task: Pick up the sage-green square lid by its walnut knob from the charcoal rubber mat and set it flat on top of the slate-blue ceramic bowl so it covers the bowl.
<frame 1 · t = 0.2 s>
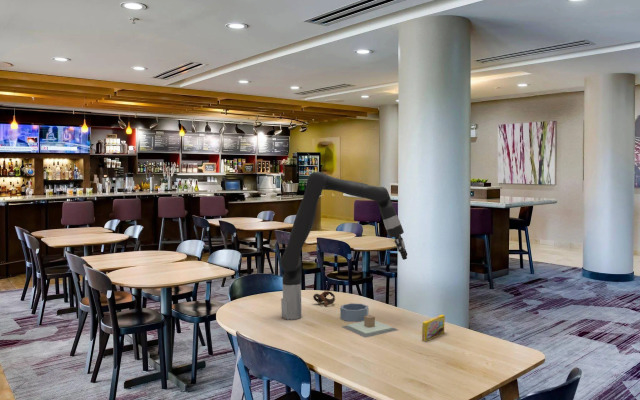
hand: (405, 257, 254), 31 cm above the table, tool tilted 20°, fingers open, 8 cm apart
mat: (369, 329, 243), on the table
brown looped knot: (324, 305, 289), on the table
lid: (369, 328, 243), point 1 cm above the table, touching mat
candy box: (433, 337, 231), on the table
bowl: (354, 318, 260), on the table
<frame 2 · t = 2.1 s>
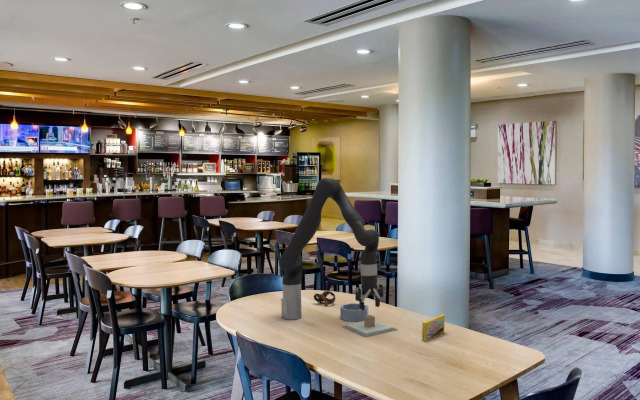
hand: (369, 308, 242), 10 cm above the table, tool pointing down, fingers open, 8 cm apart
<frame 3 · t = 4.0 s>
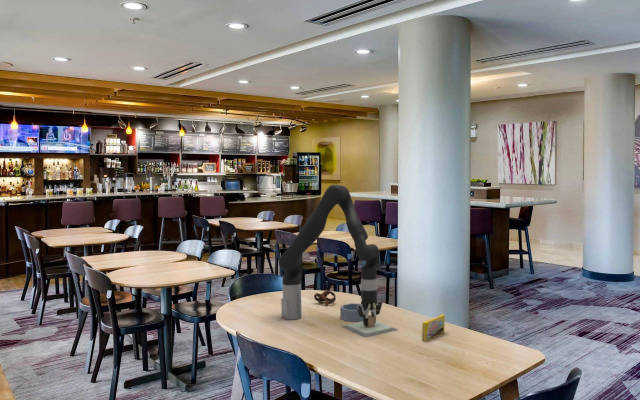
hand: (369, 324, 243), 2 cm above the table, tool pointing down, fingers closed on lid, 3 cm apart
lid: (369, 328, 243), point 1 cm above the table, touching gripper, mat
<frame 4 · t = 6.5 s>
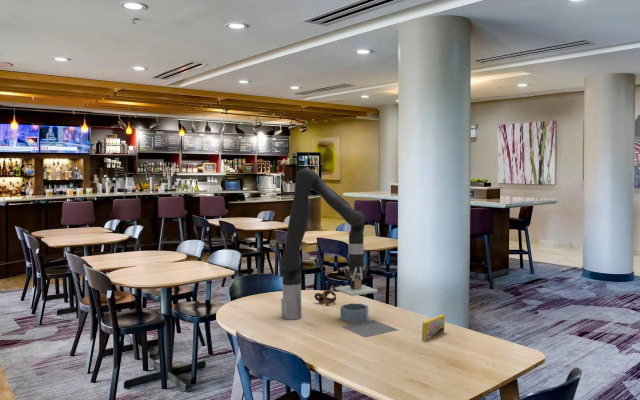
hand: (356, 287, 255), 17 cm above the table, tool pointing down, fingers closed on lid, 3 cm apart
lid: (356, 290, 255), point 15 cm above the table, touching gripper
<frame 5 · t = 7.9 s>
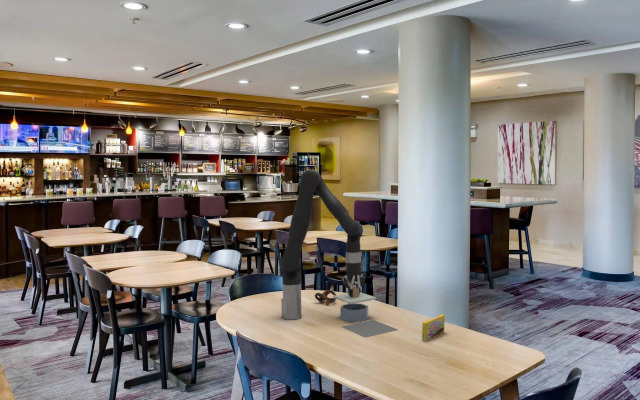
hand: (354, 295, 260), 12 cm above the table, tool pointing down, fingers closed on lid, 3 cm apart
lid: (354, 298, 260), point 10 cm above the table, touching gripper
when the fingers open (9 cm above the table, at t = 9.2 s): lid drops 1 cm, resting on bowl.
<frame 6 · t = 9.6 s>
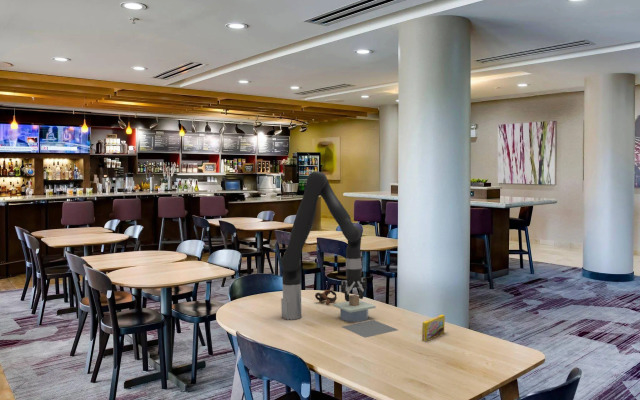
hand: (354, 300, 260), 9 cm above the table, tool pointing down, fingers open, 7 cm apart
lid: (354, 306, 260), point 6 cm above the table, touching bowl
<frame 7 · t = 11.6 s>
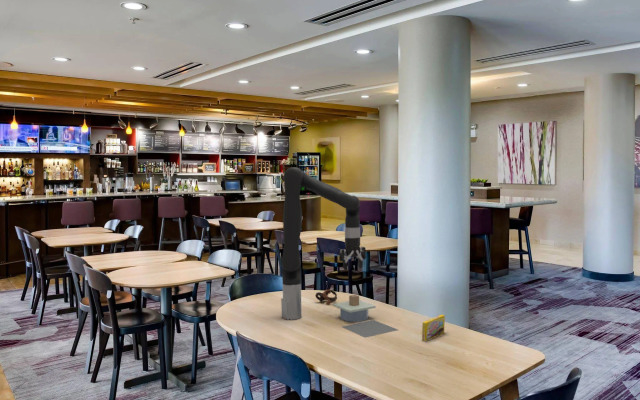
hand: (352, 269, 260), 25 cm above the table, tool pointing down, fingers open, 8 cm apart
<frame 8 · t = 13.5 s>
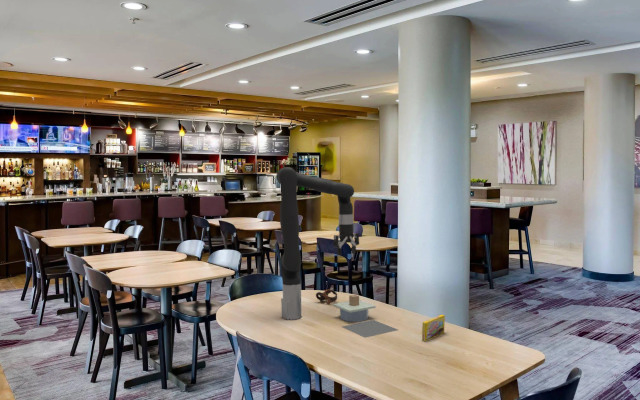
hand: (346, 254, 271), 30 cm above the table, tool pointing down, fingers open, 8 cm apart
at the end: lid 0.0 cm off-centre on the bowl, point 6.0 cm above the bowl's base; lid tilted 0°; the gripper is holding nothing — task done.
